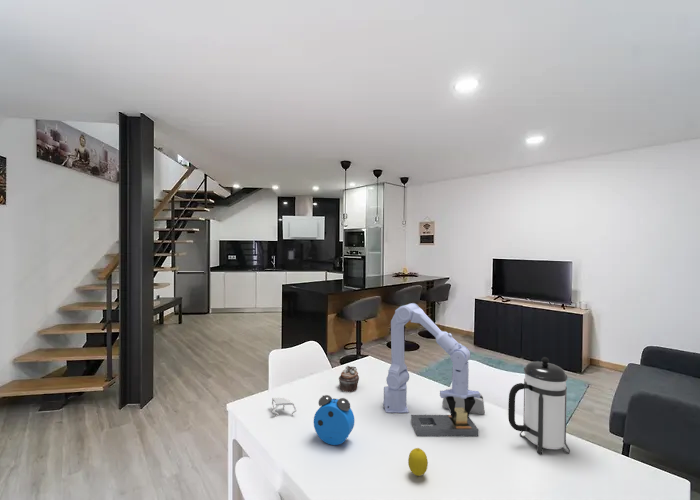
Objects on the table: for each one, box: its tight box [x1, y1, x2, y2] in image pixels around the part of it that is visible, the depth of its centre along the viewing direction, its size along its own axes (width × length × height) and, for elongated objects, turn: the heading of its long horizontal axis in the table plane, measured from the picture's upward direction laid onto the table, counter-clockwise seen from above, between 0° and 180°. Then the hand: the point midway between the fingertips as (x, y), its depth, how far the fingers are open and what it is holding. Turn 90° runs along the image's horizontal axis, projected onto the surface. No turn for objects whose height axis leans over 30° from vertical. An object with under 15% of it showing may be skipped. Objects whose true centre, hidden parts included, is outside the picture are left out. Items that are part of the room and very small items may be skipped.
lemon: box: [407, 447, 429, 477], centre depth 94 cm, size 6×6×8 cm
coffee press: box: [507, 356, 571, 455], centre depth 110 cm, size 17×16×30 cm
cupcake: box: [338, 365, 360, 393], centre depth 152 cm, size 10×10×10 cm
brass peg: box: [453, 408, 467, 426], centre depth 119 cm, size 4×4×7 cm
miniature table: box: [271, 397, 297, 418], centre depth 128 cm, size 12×8×5 cm
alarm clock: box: [313, 394, 355, 446], centre depth 110 cm, size 13×6×15 cm, turn 70°
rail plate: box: [410, 414, 479, 437], centre depth 119 cm, size 22×10×3 cm, turn 91°
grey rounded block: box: [441, 388, 486, 415], centre depth 133 cm, size 17×5×10 cm, turn 72°
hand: (459, 416), depth 119 cm, fingers open, 5 cm apart
